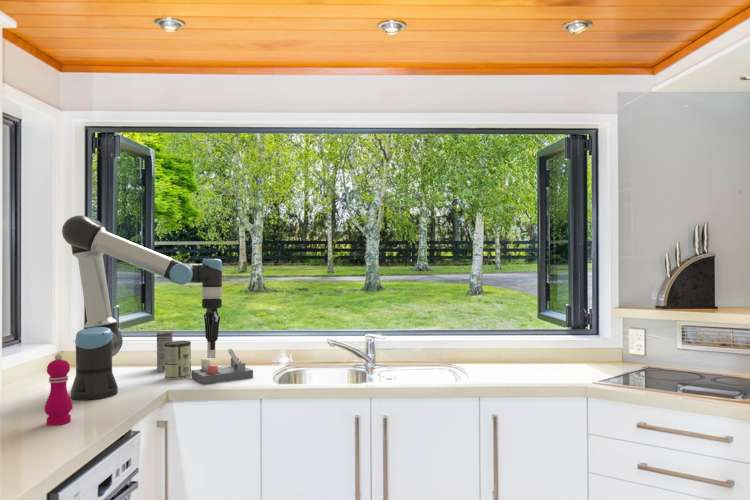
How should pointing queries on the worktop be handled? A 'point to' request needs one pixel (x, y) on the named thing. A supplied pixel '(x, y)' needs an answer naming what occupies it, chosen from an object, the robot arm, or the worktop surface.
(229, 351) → the lever
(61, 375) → the pepper mill
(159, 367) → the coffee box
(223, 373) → the panel
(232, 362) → the slider knob
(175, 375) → the coffee can
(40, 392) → the worktop surface
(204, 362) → the button ivory
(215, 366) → the button red
